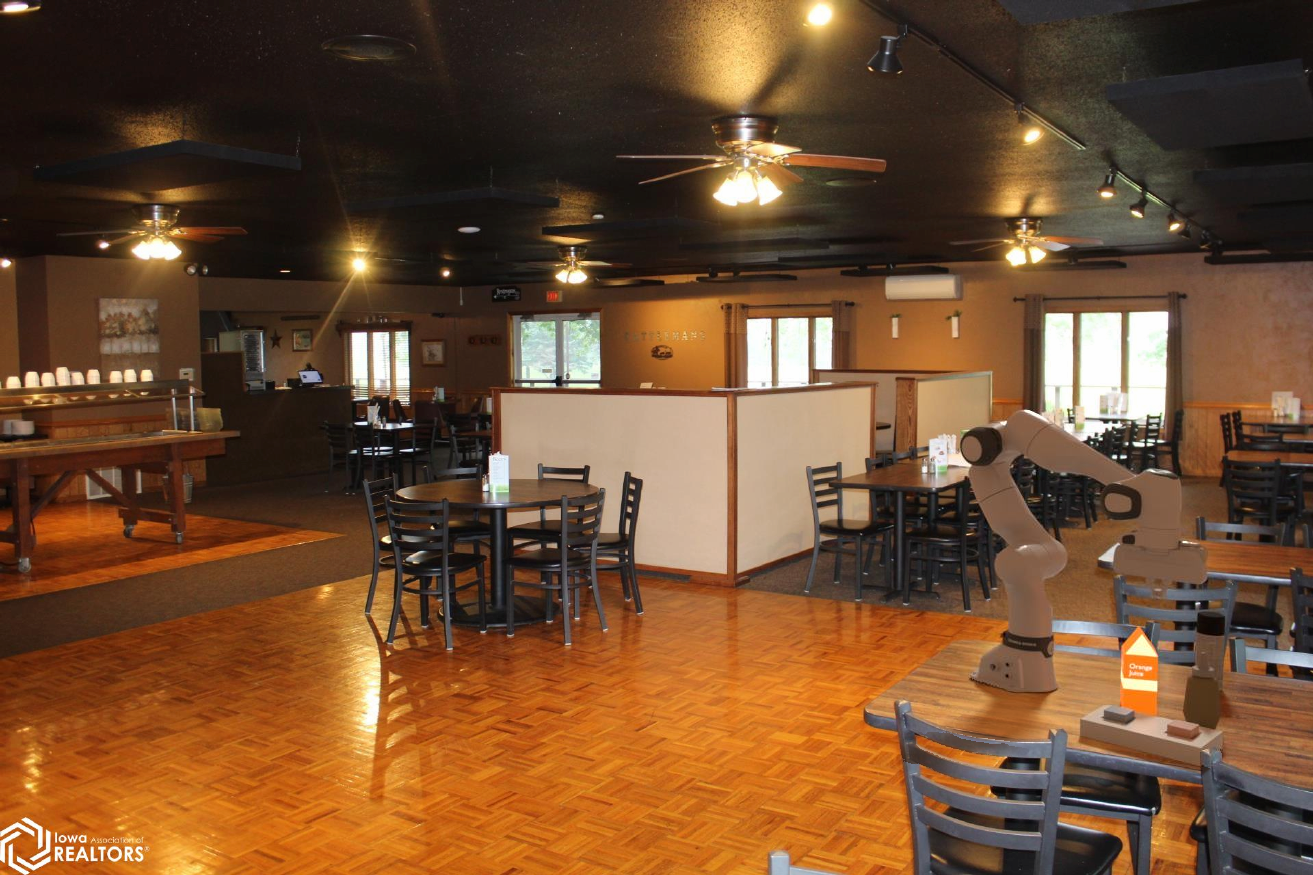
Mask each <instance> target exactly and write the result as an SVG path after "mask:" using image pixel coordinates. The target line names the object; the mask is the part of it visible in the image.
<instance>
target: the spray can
mask: <svg viewBox="0 0 1313 875" xmlns="http://www.w3.org/2000/svg"><path fill="white" fill-rule="evenodd" d="M1196 616H1197V618H1196V632H1195V633H1196V634H1195V636H1196V637H1195V657H1194V658H1195V660H1194V661H1195V662H1194V666H1197V664H1198V661H1199V657H1200V654H1201V652H1204V653H1206V654H1207V659H1208V664H1209V667H1211V668H1213V669H1214V677H1215V678H1216V679H1217V680H1218V685H1219V692H1221V691H1222V690H1223V689H1224V688H1223V687H1224V664H1225V663H1224V662H1225V658H1224V657H1225V643H1226V642H1225V641H1226V640H1225V639H1226V638H1225V636H1226V616H1225V615H1224V614H1222V613H1220V612H1216V611H1215V612H1214V611H1199V612H1198V611H1197V615H1196Z"/></svg>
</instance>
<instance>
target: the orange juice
mask: <svg viewBox="0 0 1313 875" xmlns="http://www.w3.org/2000/svg"><path fill="white" fill-rule="evenodd" d="M1131 633H1132V634H1131V635H1130V636H1129V637H1128V638H1127V639H1126V640H1125V642H1123V644H1122V645H1121V656H1120V657H1121V658H1120V659H1121V662H1120V665H1121V666H1120V698H1119V699H1120V707H1124V708H1128V709H1132V710H1135V712H1140V713H1144V714H1149V715H1153V716H1157V709H1158V708H1157V707H1158V705H1157V703H1158V671H1159V669H1158V668H1159V655H1158V652H1157V651H1156V647H1154V645H1153V644H1152V642H1151V641H1150V639H1148V637H1147V635H1146V634H1145V633H1144V631H1143V629H1142V628H1141V627H1140V626H1139V625H1138V626H1137V627H1136V628H1135V630H1134V631H1133V632H1131Z"/></svg>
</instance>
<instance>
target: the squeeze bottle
mask: <svg viewBox="0 0 1313 875" xmlns="http://www.w3.org/2000/svg"><path fill="white" fill-rule="evenodd" d="M1182 713H1183V718H1184V719H1185V720H1184V721H1185V722H1190V723H1194V724H1199V726H1201V727H1205V728H1210V729H1214V730H1217V729H1216V728H1217V727H1218V723H1220V719H1221V717H1222V711H1221V700H1220V691H1219V685H1218V680H1217V679H1216V678H1215V677H1214V669H1213V668H1211V667H1209V664H1208V659H1207V654H1206V653H1204V652H1201V654H1200V657H1199V661H1198V664H1197V666H1195V665H1193V666H1192V667H1191V674H1190V675H1188V676H1187V679H1186V686H1185V694H1184V699H1183V707H1182Z"/></svg>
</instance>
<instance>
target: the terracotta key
mask: <svg viewBox="0 0 1313 875" xmlns="http://www.w3.org/2000/svg"><path fill="white" fill-rule="evenodd" d="M1173 720H1174V721H1172V722H1171V723H1169V724H1168V725H1167V734H1171V735H1175V736H1179V737H1184V738H1188V739H1192V740H1193V739H1194V738H1196V737H1197V736H1198V735H1199V724H1194V723H1190V722H1186V720H1181V719H1175V718H1174V719H1173Z"/></svg>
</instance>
